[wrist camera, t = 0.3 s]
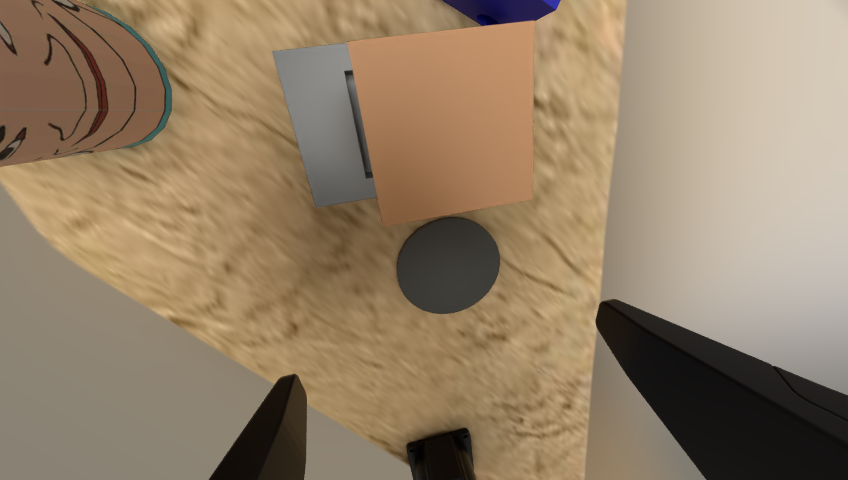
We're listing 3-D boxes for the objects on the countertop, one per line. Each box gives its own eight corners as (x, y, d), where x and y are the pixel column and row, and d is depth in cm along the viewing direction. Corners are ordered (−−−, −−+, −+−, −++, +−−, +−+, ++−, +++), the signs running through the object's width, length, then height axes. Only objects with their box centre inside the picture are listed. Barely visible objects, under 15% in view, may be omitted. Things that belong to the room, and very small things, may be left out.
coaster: (498, 298, 26) (501, 302, 26) (405, 318, 25) (406, 323, 25) (494, 208, 23) (498, 210, 23) (388, 228, 22) (389, 230, 22)
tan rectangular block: (441, 152, 20) (532, 199, 10) (371, 163, 20) (383, 226, 9) (433, 73, 19) (534, 20, 8) (356, 83, 18) (347, 41, 7)
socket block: (493, 168, 22) (508, 174, 20) (320, 197, 21) (315, 207, 18) (488, 35, 19) (505, 24, 17) (283, 59, 17) (271, 51, 15)
